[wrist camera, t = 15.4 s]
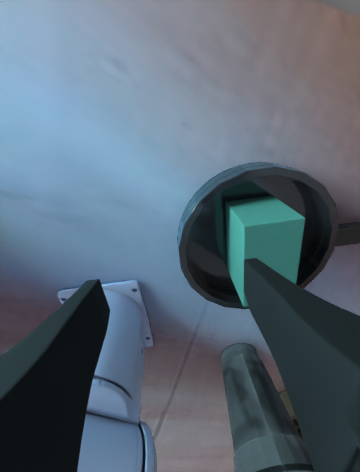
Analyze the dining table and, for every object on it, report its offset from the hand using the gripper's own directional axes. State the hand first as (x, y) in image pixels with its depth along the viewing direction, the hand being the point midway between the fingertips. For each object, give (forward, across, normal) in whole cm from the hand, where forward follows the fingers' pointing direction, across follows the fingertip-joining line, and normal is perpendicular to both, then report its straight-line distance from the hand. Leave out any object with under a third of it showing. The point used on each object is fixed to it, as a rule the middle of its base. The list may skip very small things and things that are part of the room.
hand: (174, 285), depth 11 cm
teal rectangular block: (+9, -7, +3) cm, 11 cm away
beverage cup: (+10, -6, +20) cm, 23 cm away
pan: (+9, -7, +3) cm, 12 cm away
